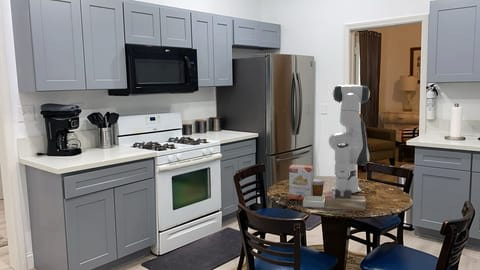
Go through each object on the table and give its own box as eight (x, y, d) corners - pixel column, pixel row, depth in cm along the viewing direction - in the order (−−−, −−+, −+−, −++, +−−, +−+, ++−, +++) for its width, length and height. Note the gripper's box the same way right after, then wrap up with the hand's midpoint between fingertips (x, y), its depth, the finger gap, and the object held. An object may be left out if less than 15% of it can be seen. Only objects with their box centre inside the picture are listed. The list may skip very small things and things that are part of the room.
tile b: (325, 197, 235) (325, 193, 234) (333, 197, 233) (333, 194, 233) (324, 199, 230) (324, 195, 230) (332, 199, 229) (332, 196, 229)
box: (305, 200, 245) (305, 195, 244) (325, 202, 242) (325, 196, 241) (303, 206, 233) (303, 200, 233) (324, 208, 230) (324, 202, 230)
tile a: (325, 194, 240) (325, 191, 239) (333, 195, 238) (333, 191, 238) (325, 196, 235) (325, 193, 235) (333, 197, 234) (333, 193, 234)
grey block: (333, 193, 240) (333, 186, 239) (351, 194, 237) (351, 188, 236) (332, 198, 228) (332, 191, 228) (351, 200, 225) (351, 193, 225)
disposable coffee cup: (316, 201, 242) (316, 182, 241) (305, 198, 250) (305, 179, 249) (327, 199, 248) (327, 180, 246) (316, 195, 255) (316, 177, 254)
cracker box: (289, 199, 249) (288, 166, 247) (292, 196, 255) (291, 164, 252) (311, 201, 243) (311, 167, 241) (313, 198, 249) (313, 165, 246)
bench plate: (326, 202, 241) (326, 194, 241) (364, 204, 235) (364, 196, 235) (325, 208, 230) (325, 199, 229) (365, 210, 224) (365, 202, 223)
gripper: (337, 167, 241) (337, 190, 243) (336, 175, 222) (335, 199, 224) (348, 168, 240) (347, 190, 241) (348, 175, 220) (347, 200, 222)
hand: (342, 195), depth 232 cm, fingers closed on grey block, 2 cm apart
